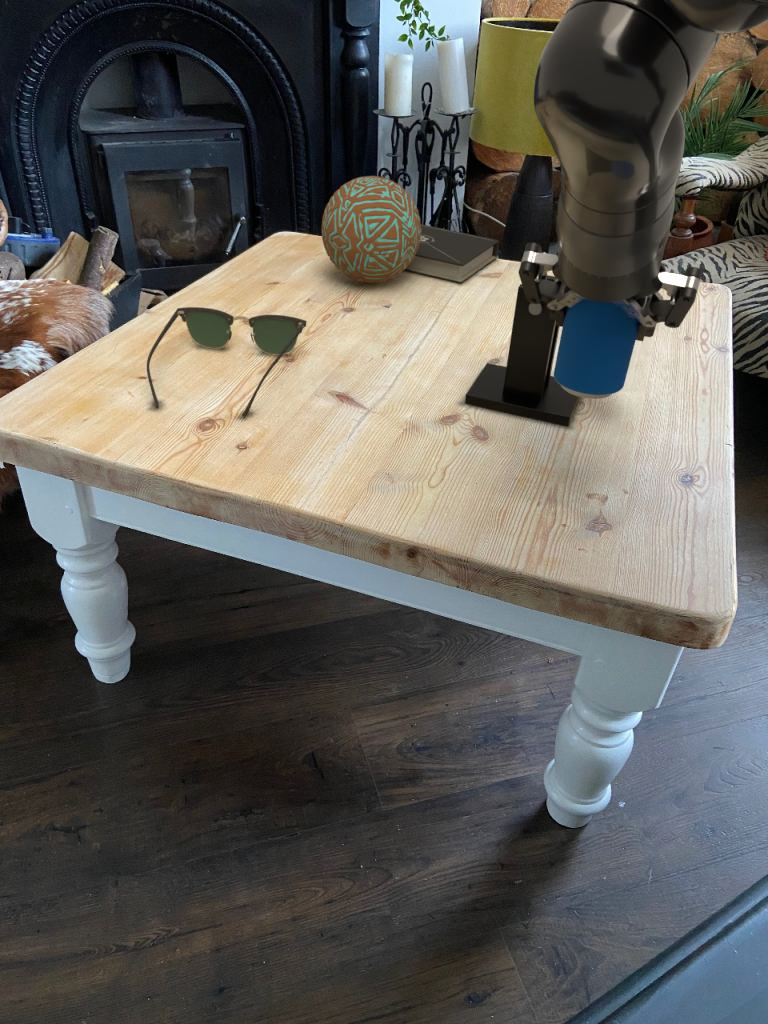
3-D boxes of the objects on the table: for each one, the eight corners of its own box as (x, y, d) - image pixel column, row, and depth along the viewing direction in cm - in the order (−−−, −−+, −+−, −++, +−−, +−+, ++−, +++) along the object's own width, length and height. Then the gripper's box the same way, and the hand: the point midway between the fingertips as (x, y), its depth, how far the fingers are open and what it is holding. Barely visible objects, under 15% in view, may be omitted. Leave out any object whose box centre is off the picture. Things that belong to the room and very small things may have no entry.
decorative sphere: (377, 306, 108) (380, 197, 99) (302, 280, 115) (298, 176, 106) (437, 279, 117) (445, 178, 108) (364, 256, 124) (366, 160, 115)
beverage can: (631, 382, 71) (664, 255, 63) (609, 410, 66) (642, 277, 59) (566, 364, 73) (592, 240, 66) (541, 389, 69) (565, 260, 62)
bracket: (582, 391, 89) (607, 278, 81) (568, 426, 82) (593, 307, 74) (485, 371, 92) (500, 260, 84) (464, 403, 86) (478, 287, 77)
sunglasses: (128, 405, 83) (120, 364, 80) (183, 341, 96) (178, 304, 93) (272, 421, 81) (269, 380, 78) (308, 354, 94) (307, 317, 91)
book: (497, 257, 126) (500, 239, 125) (461, 283, 116) (463, 264, 114) (387, 233, 134) (387, 216, 133) (343, 256, 124) (343, 238, 122)
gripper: (735, 189, 50) (694, 299, 66) (525, 163, 54) (534, 273, 70) (708, 292, 49) (673, 378, 65) (498, 258, 53) (513, 347, 69)
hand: (601, 323), depth 68 cm, fingers closed on beverage can, 6 cm apart
